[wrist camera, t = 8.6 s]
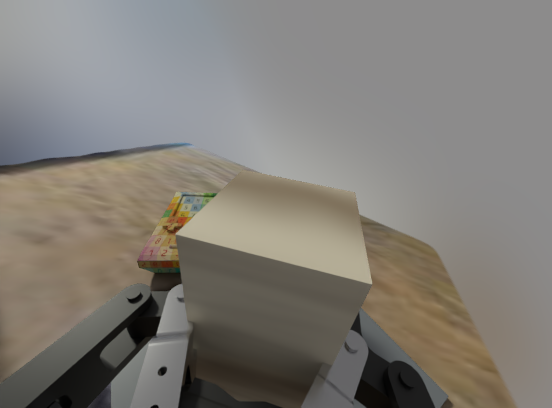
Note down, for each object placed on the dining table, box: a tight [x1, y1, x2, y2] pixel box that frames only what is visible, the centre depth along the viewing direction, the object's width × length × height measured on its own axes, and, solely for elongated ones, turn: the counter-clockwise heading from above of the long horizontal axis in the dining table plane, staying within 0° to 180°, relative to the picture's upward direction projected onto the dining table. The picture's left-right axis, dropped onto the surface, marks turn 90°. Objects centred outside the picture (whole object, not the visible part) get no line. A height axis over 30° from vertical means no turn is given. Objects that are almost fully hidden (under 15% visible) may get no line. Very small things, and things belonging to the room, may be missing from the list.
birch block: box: [175, 170, 372, 408], centre depth 11 cm, size 6×6×12 cm
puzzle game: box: [137, 192, 218, 273], centre depth 40 cm, size 12×5×20 cm
